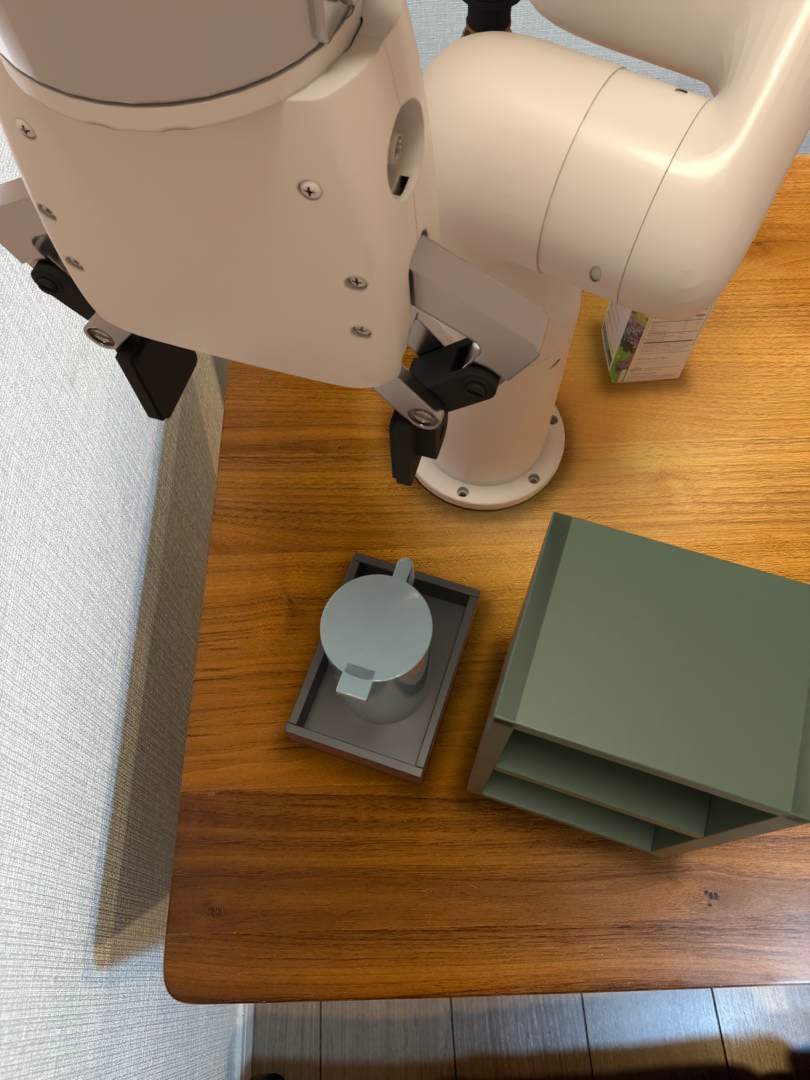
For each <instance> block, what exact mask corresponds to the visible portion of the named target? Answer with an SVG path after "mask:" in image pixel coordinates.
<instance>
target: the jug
mask: <svg viewBox="0 0 810 1080" xmlns="http://www.w3.org/2000/svg"><path fill="white" fill-rule="evenodd" d="M414 570H415V563H414V561H413V560H412V559H411V558H410V557H407V556H404V557H401V558H399V559H398V560H397V562H396V568H395V571H394V574H393V576H388V575H367V576H363V577H359V578H356V579H354V580H352V581H350V582H348V583H346V584H345V585H343V586H342V585H341V587H339V588H338V589H337V590H336V591H335V592H334V593H333V594H332V595H331V597H330V598H329V599H328V601H326V604H325V606H324V609H323V610H322V614H321V618H320V623H319V636H320V640H321V642H322V646H323V648H324V651H325V654H326V657H327V659H328V662H329V665H330V668H331V671H332V673H333V676H334V679H335V682H336V685H337V688H336V693H337V694H339V695H340V696H341V698H342V700H343V702H344V703H345V705H346V706H347V707H348V709H349V710H350V711H351V712H352V713H354V714H355V715H356V716H357V717H359V718H361V719H363V720H365V721H368V722H371V723H376V724H391V723H395V722H399V721H401V720H404V719H406V718H407V717H409V716H411V715H412V714H413V713H415V712H416V711H417V710H418V709H419V707H420V706H421V705H422V704H423V702H424V700H425V698H426V696H427V694H428V691H429V687H430V680H431V658H432V636H433V622H432V616H431V612H430V609H429V607H428V605H427V603H426V601H425V599H424V598H423V597H422V595H421V594H420V593H419V592H418V591H417V590H416V589H415V588H414Z"/></svg>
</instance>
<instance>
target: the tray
mask: <svg viewBox="0 0 810 1080" xmlns="http://www.w3.org/2000/svg"><path fill="white" fill-rule="evenodd" d="M396 564H397V563H396ZM396 564H395V563H392V562H389V561H386V560H383V559H379V558H376V557H372V556H369V555H366V554H363V553H360V552H354V554H353V556H352V560H351V562H350V564H349V567H348V570H347V572H346V575H345V577H344V579H343V582H342V584H341V587H342V586H343V585H345V584H346V583H348V582H350V581H352V580H354V579H356V578H359V577H363V576H367V575H388V576H393V574H394V571H395V568H396ZM414 588H415V589H416V590H417V591H418V592H419V593H420V594H421V595H422V597H423V598H424V599H425V601H426V603H427V605H428V607H429V609H430V612H431V616H432V622H433V636H432V658H431V680H430V687H429V691H428V694H427V696H426V698H425V700H424V702H423V704H422V705H421V706H420V707H419V709H418V710H417V711H416V712H415V713H413V714H412V715H411V716H409V717H407V718H406V719H404V720H401V721H399V722H395V723H391V724H376V723H371V722H368V721H365V720H363V719H361V718H359V717H357V716H356V715H355V714H354V713H352V712H351V711H350V710H349V709H348V707H347V706H346V705H345V703H344V702H343V700H342V698H341V696H340V695H339V694H337V693H336V688H337V685H336V682H335V679H334V676H333V673H332V671H331V668H330V665H329V662H328V659H327V657H326V654H325V651H324V648H323V646H322V642H321V639H319V640H320V641H319V642H318V645H317V647H316V650H315V652H314V655H313V658H312V659H311V662H310V665H309V668H308V671H307V673H306V676H305V678H304V680H303V683H302V686H301V687H300V690H299V693H298V696H297V698H296V700H295V704H294V705H293V709H292V711H291V714H290V716H289V718H288V722H287V724H286V725H285V729H284V732H285V733H286V735H287V736H288V738H289V739H290V741H292V742H295V743H298V744H301V745H303V746H306V747H309V748H313V749H315V750H318V751H321V752H323V753H326V754H329V755H332V756H335V757H338V758H341V759H344V760H346V761H350V762H352V763H355V764H358V765H361V766H364V767H367V768H370V769H373V770H376V771H379V772H382V773H384V774H388V775H390V776H393V777H397V778H398V779H402V780H404V781H408V782H410V783H414V784H416V785H419V786H420V785H422V782H423V779H424V776H425V773H426V770H427V767H428V765H429V764H428V763H429V761H430V757H431V754H432V751H433V748H434V746H435V743H436V739H437V735H438V733H439V729H440V726H441V724H442V720H443V717H444V714H445V711H446V707H447V705H448V701H449V698H450V695H451V691H452V689H453V686H454V682H455V679H456V676H457V674H458V673H457V672H458V669H459V666H460V663H461V660H462V658H463V653H464V651H465V648H466V645H467V641H468V638H469V635H470V632H471V629H472V626H473V622H474V620H475V616H476V613H477V610H478V607H479V602H480V596H481V592H482V591H481V589H478V588H473V587H471V586H468V585H465V584H461V583H459V582H455V581H451V580H448V579H445V578H443V577H438V576H435V575H431V574H428V573H425V572H421V571H419V570H415V569H414Z"/></svg>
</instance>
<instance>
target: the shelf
mask: <svg viewBox="0 0 810 1080" xmlns="http://www.w3.org/2000/svg"><path fill="white" fill-rule="evenodd" d="M476 751H477V752H476V754H475V758H474V761H473V765H472V768H471V772H470V775H469V779H468V782H467V784H466V789H465V791H466V792H468V793H471V794H475V795H477V796H481V797H482V798H486V799H488V800H492V801H495V802H498V803H501V804H504V805H506V806H509V807H512V808H515V809H518V810H520V811H524V812H527V813H529V814H532V815H535V816H538V817H541V818H544V819H547V820H549V821H553V822H556V823H558V824H562V825H564V826H567V827H570V828H573V829H576V830H579V831H582V832H584V833H588V834H591V835H594V836H597V837H599V838H602V839H605V840H608V841H611V842H614V843H616V844H619V845H622V846H626V847H629V848H632V849H634V850H637V851H640V852H643V853H646V854H649V855H652V856H655V857H658V858H661V859H665V858H670V857H674V856H678V855H682V854H685V853H689V852H694V851H698V850H702V849H706V848H712V847H715V846H719V845H723V844H727V843H731V842H736V841H740V840H743V839H748V838H753V837H757V836H761V835H766V834H769V833H774V832H778V831H782V830H787V829H790V828H795V827H798V826H803V825H807V824H810V584H809V583H807V582H803V581H799V580H795V579H792V578H789V577H785V576H781V575H778V574H775V573H772V572H767V571H764V570H761V569H758V568H753V567H749V566H747V565H742V564H739V563H736V562H733V561H730V560H725V559H723V558H718V557H716V556H712V555H708V554H705V553H701V552H698V551H694V550H691V549H687V548H683V547H680V546H677V545H673V544H670V543H666V542H663V541H659V540H656V539H653V538H649V537H646V536H643V535H639V534H635V533H631V532H628V531H625V530H621V529H618V528H614V527H610V526H607V525H605V524H604V525H603V524H600V523H598V522H597V523H596V522H593V521H590V520H587V519H583V518H579V517H577V516H576V517H575V516H572V515H568V514H565V513H562V512H558V511H553V512H552V514H551V517H550V520H549V522H548V525H547V528H546V531H545V535H544V538H543V541H542V544H541V546H540V549H539V554H538V556H537V559H536V563H535V565H534V568H533V571H532V574H531V578H530V580H529V584H528V586H527V590H526V593H525V596H524V599H523V602H522V604H521V608H520V611H519V614H518V617H517V620H516V622H515V626H514V629H513V632H512V635H511V638H510V641H509V644H508V647H507V650H506V653H505V657H504V660H503V664H502V667H501V670H500V673H499V676H498V680H497V684H496V687H495V691H494V693H493V698H492V701H491V703H490V708H489V711H488V713H487V717H486V721H485V724H484V728H483V731H482V734H481V738H480V740H479V745H478V748H477V750H476Z"/></svg>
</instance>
